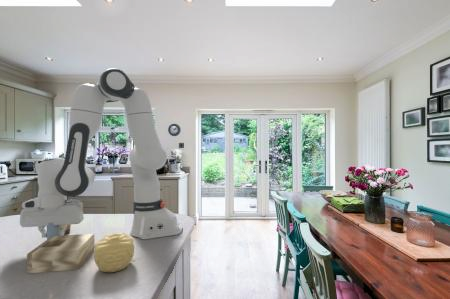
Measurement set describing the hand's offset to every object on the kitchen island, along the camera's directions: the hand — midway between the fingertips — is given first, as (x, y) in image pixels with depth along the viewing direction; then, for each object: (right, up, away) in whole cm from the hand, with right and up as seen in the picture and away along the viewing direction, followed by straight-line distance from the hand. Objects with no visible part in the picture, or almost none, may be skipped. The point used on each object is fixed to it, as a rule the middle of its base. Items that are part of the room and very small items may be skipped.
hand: (53, 236), depth 88 cm
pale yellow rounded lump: (+30, -5, -14) cm, 34 cm away
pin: (0, -4, 0) cm, 4 cm away
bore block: (+11, -4, -10) cm, 16 cm away
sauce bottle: (-7, -4, +15) cm, 17 cm away
